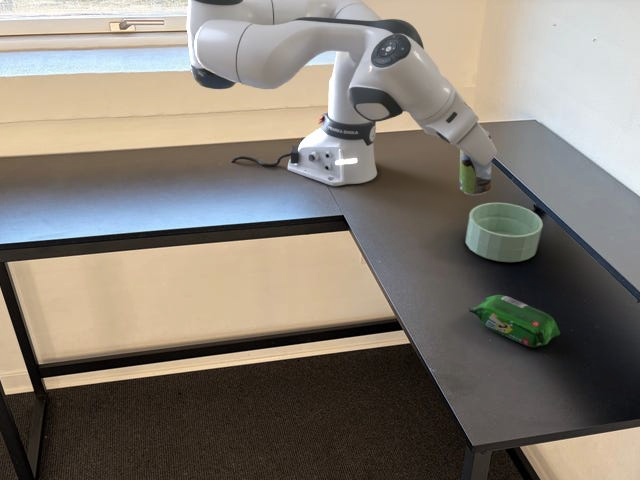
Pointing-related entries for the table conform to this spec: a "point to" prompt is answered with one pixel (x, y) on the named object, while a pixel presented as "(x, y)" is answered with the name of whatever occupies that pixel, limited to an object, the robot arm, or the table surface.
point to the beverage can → (474, 175)
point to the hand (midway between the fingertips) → (477, 155)
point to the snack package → (516, 320)
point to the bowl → (503, 232)
